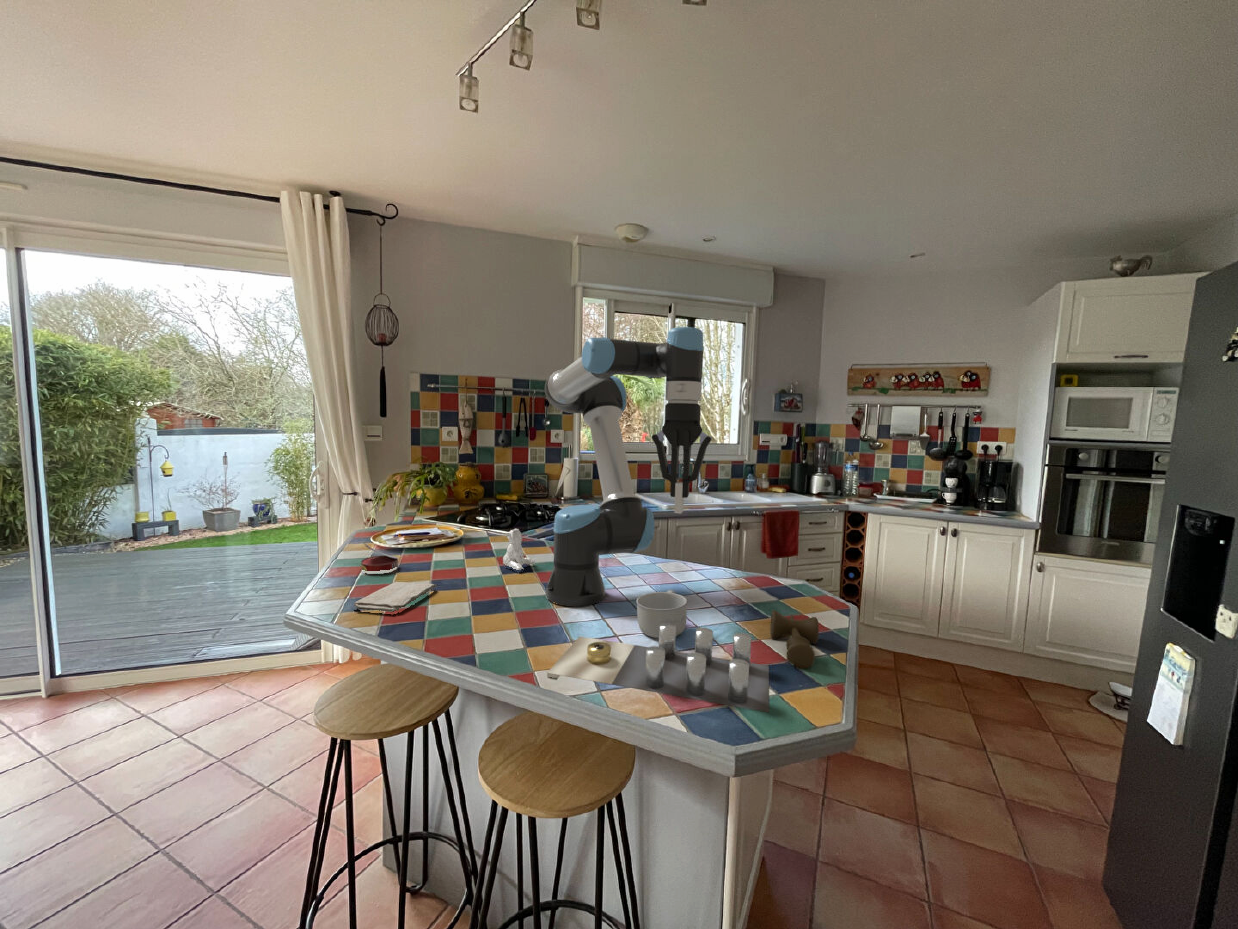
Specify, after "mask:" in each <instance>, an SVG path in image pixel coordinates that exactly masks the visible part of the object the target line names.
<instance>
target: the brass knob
mask: <svg viewBox="0 0 1238 929" xmlns="http://www.w3.org/2000/svg"><path fill="white" fill-rule="evenodd" d="M610 656H611V646H610V645H609V644H607V643H603V642H595V643H591V644H589V645H588V647H587V661H588V662H589V663H591V664H594V665H604V664H607V663H609V662H610Z"/></svg>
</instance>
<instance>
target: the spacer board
mask: <svg viewBox="0 0 1238 929" xmlns="http://www.w3.org/2000/svg"><path fill="white" fill-rule="evenodd" d="M595 642H603V643H607V644H609V645H610V646H611V656H610V662H609V663H607V664H604V665H594V664H591V663H589V662H588V661H587V647H588V645H589V644H591V643H595ZM648 647H649V646H644V645H643V646H642V645H637V644H631V643H630V644H629V643H624V642H617V641H610V640H603V639H597V638H593V637H592V638H591V637H586V636H578V637H577V639H576V640H574V641H573V643H572V644H571V645H570V646H569V647H568V649H567V650H566V651H565V652H564V653H563V654H562V655H561V657H560V658H559V659H558V660H557V661H556V662H555V663H554V664H553V665H552V667H551V668H550V669H549V670H548V671H547V673H546V676H547V678H550V677H552V678H551V679H556V678H557V680H558V679H559V678H560V677H561V676H563V677H568V678H573V679H579V680H584V681H585V680H586V681H591V682H597V683H601V684H608V685H613V686H618V687H624V688H629V689H630V688H631V689H636V690H642V691H647V692H653V693H658V694H663V695H667V696H668V695H669V696H673V697H674V696H676V697H680V698H686V699H691V700H697V701H702V702H707V703H714V704H719V705H725V706H731V707H736V708H741V709H746V710H754V711H759V712H766V713H770V680H769V679H770V678H769V677H770V676H769V675H770V670H769V667H770V666H769V665H767V664H759V663H755V662H754V663H753V662H750V670H749V679H748V698H747V702H746V703H743V704H737V703H733V702H731V701H730V700H729V699H728V678H729V661H730V660H731V659H727V658H722V657H716V656H715V657H714V656H712V662H711V664H710V665H707V666H706V672H705V693H704V694H703V695H701V696H692V695H690V694H688V693H687V692H686V666H687V655H688V654H689V653H690V652H689V653H688V652H681V651H676V650H675V658H674V659H671V660H665V665H664V686H663V687H662V688H659V689H652V688H649V687H647V686H646V684H645V676H646V649H647V648H648Z"/></svg>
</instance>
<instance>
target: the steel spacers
mask: <svg viewBox="0 0 1238 929" xmlns="http://www.w3.org/2000/svg"><path fill="white" fill-rule="evenodd" d="M713 636H714V631H713V630H712V629H710V628H708V627H698V628H696V629H695V636H694V637H695V638H694V640H695V642H694V652H689V654H688V655H687V666H686V692H687V693H688V694H690V695H692V696H701V695H703V694H704V693H705V672H706V666H707V665H710V664H711V662H712V657H713V638H714V637H713ZM676 638H677V636H676V625H675V624H672V623H661V624H660V625H659V639H658V646H655V645H654V646H647V647H648V648H647V649H646V676H645V684H646V686H647V687H649V688H652V689H659V688H662V687H663V686H664V665H665V660H671V659H674V658H675V651H676ZM732 638H733V639H732V656H731V657H732V658H731V659H729V660H730V661H729V678H728V699H729V700H730V701H731V702H733V703H737V704H743V703H746V702H747V698H748V679H749V670H750V663H751V652H752V651H751V649H752V636H751V634H748V633H746V632H736V633H734V634H733V637H732Z"/></svg>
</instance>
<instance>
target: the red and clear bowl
mask: <svg viewBox="0 0 1238 929" xmlns="http://www.w3.org/2000/svg"><path fill="white" fill-rule="evenodd" d="M362 544H363V545H364V546H365V547H366V548H367V549H370V550H371V551H373V552H376V553H378V554H379V555H376V556H371V557H366V558H364V559H362V560H361V561H360V565H361V566H360V569H361V570H365V571H380V570H390V569H393V568H395V567H397V566H398V567H399V561H398V560H399V559H398V557H397V556H394V555H390V554H386V553H383V552H379V551H377V550H375V549H374V548H372V547H371V546H369V545H368V544H367V543H365V542H363V543H362ZM380 554H381V555H380ZM361 570H360V571H361Z"/></svg>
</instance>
